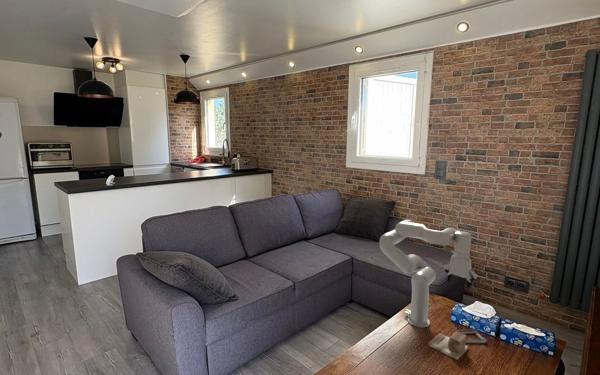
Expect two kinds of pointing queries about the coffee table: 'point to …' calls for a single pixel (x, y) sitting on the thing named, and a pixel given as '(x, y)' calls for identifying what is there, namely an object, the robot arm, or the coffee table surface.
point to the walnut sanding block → (457, 342)
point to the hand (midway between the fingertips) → (458, 284)
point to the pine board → (445, 346)
